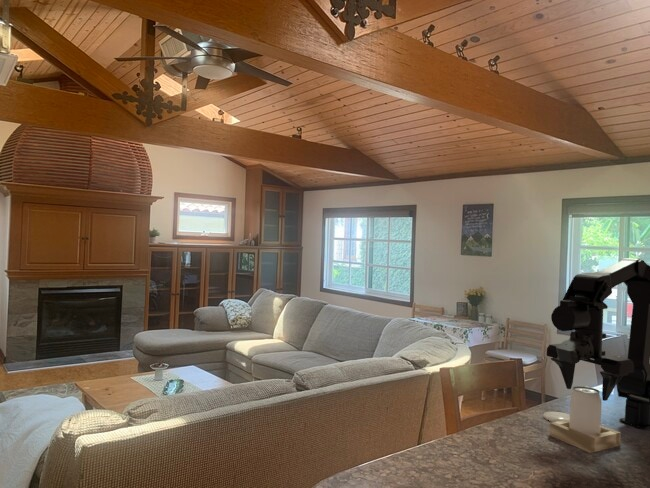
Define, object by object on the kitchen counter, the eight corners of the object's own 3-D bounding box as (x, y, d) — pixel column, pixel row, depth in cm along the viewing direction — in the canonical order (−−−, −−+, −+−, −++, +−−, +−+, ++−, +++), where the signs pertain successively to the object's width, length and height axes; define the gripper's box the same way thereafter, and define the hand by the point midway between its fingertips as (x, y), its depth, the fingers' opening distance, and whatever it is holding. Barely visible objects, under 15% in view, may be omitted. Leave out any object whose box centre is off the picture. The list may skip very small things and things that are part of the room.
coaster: (557, 412, 135) (557, 410, 135) (584, 422, 128) (584, 420, 128) (537, 416, 132) (537, 413, 132) (563, 426, 125) (563, 424, 125)
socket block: (578, 429, 123) (579, 417, 123) (620, 445, 114) (620, 432, 114) (549, 435, 119) (550, 422, 118) (590, 452, 109) (590, 439, 109)
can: (604, 447, 112) (606, 394, 112) (573, 444, 114) (575, 392, 114) (594, 436, 119) (596, 386, 119) (565, 433, 120) (567, 384, 120)
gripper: (531, 323, 121) (529, 386, 121) (604, 337, 104) (601, 411, 104) (562, 321, 126) (560, 382, 126) (636, 334, 109) (634, 405, 109)
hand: (586, 394), depth 116 cm, fingers open, 9 cm apart
